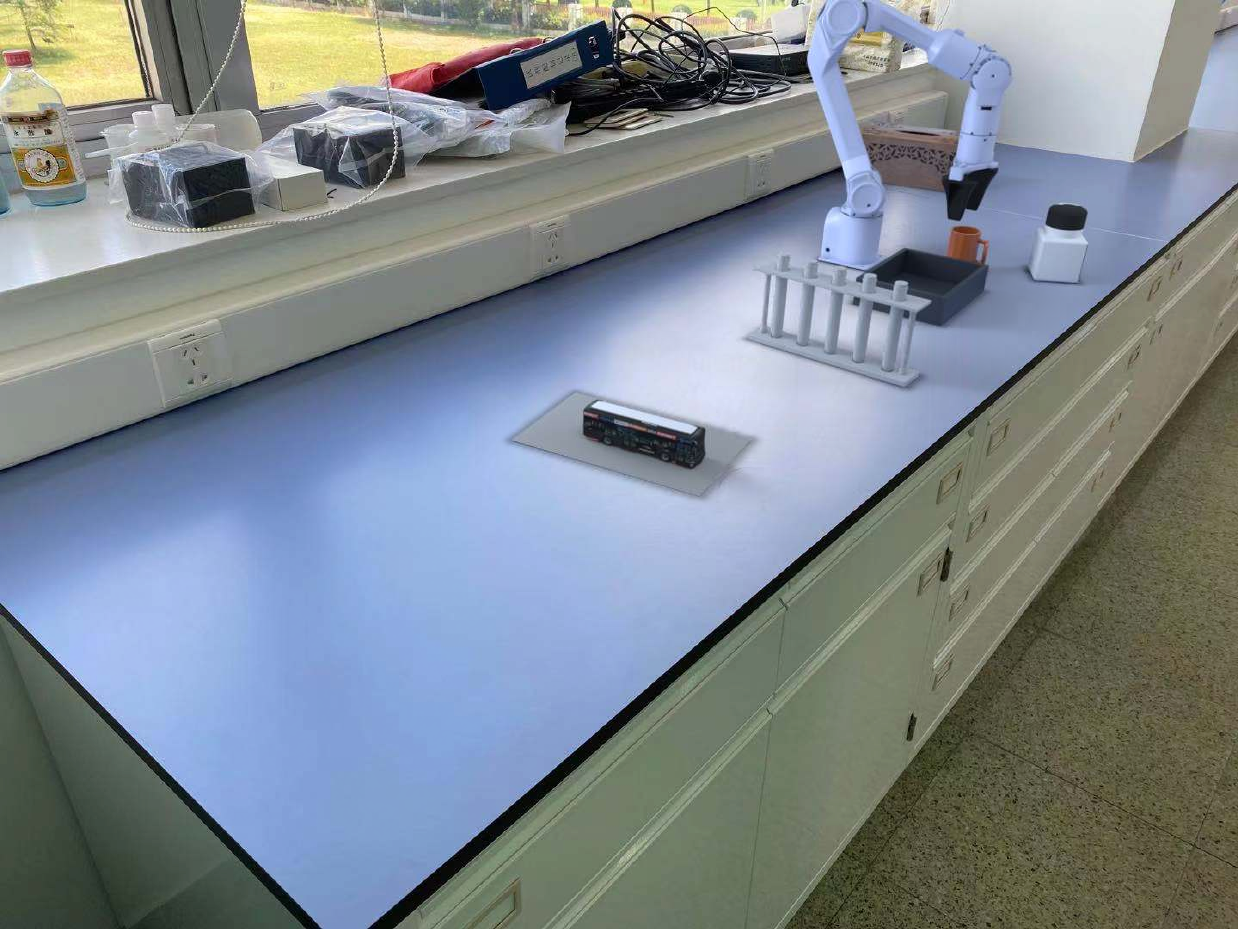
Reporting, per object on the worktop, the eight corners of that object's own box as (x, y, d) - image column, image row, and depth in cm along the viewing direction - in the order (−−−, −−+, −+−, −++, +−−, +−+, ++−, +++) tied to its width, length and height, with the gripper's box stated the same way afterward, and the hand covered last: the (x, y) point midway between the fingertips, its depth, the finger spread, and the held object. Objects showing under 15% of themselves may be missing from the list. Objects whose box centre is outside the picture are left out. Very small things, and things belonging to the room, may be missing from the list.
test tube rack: (918, 376, 131) (935, 284, 124) (904, 387, 128) (920, 293, 121) (762, 329, 145) (770, 244, 138) (746, 339, 142) (753, 252, 135)
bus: (699, 496, 105) (701, 463, 103) (511, 440, 116) (509, 409, 114) (750, 439, 116) (753, 408, 114) (575, 392, 126) (574, 363, 124)
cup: (939, 270, 167) (946, 230, 163) (949, 262, 170) (957, 223, 167) (977, 278, 164) (985, 238, 160) (987, 270, 167) (995, 231, 163)
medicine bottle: (1078, 284, 161) (1096, 213, 155) (1033, 280, 163) (1050, 210, 156) (1070, 269, 167) (1087, 201, 161) (1027, 266, 169) (1042, 198, 162)
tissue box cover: (976, 178, 219) (984, 133, 214) (959, 193, 209) (968, 146, 203) (867, 163, 231) (873, 120, 226) (846, 177, 220) (851, 132, 215)
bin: (852, 304, 153) (856, 277, 151) (900, 272, 166) (904, 247, 164) (940, 326, 146) (945, 298, 144) (983, 291, 158) (989, 264, 156)
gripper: (986, 143, 150) (970, 229, 157) (1017, 128, 160) (1000, 209, 167) (943, 137, 154) (928, 220, 161) (976, 122, 163) (961, 201, 170)
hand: (962, 214), depth 164 cm, fingers open, 7 cm apart
